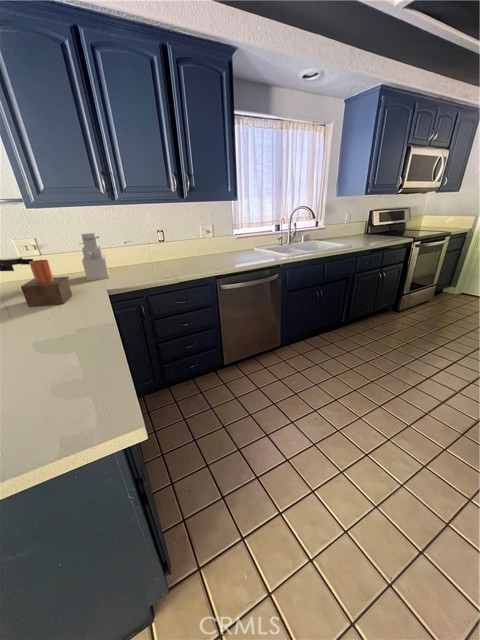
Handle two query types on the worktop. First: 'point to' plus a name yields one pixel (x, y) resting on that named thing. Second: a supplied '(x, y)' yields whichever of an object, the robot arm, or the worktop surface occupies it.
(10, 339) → the worktop surface
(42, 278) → the cup
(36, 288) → the box
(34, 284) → the box lid
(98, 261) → the blocky snowman figure
